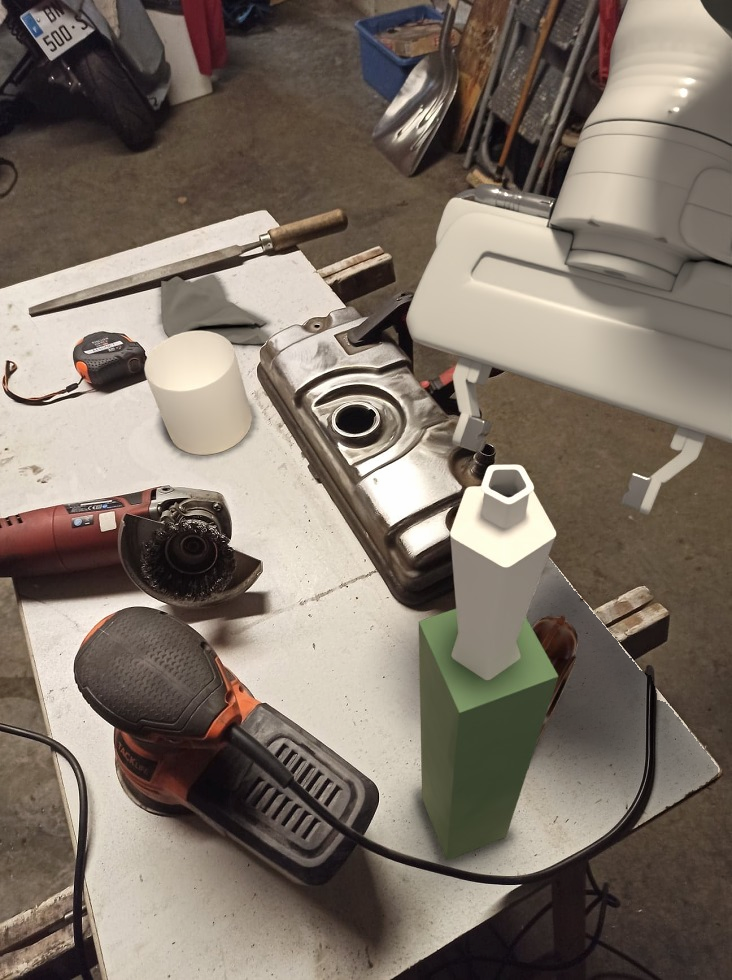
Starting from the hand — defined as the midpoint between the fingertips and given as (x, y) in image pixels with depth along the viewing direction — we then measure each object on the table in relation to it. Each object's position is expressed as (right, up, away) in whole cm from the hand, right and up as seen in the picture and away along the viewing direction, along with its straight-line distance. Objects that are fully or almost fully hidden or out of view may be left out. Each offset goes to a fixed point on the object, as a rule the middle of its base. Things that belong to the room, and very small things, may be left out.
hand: (547, 477), depth 40 cm
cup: (-32, +8, +65) cm, 72 cm away
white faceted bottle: (-3, -10, +3) cm, 11 cm away
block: (-1, -31, +30) cm, 44 cm away
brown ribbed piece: (+7, -24, +36) cm, 43 cm away
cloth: (-36, +27, +80) cm, 91 cm away
